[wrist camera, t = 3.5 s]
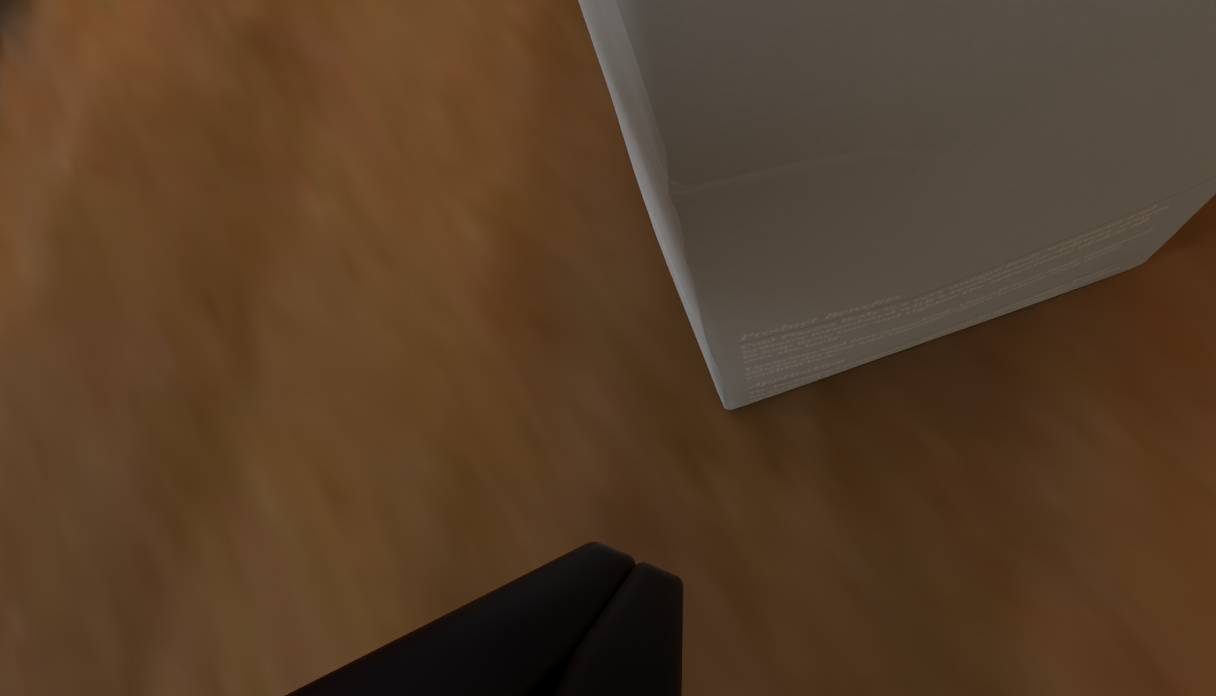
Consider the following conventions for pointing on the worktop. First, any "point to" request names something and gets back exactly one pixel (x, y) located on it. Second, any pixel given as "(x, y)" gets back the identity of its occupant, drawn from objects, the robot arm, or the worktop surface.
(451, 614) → the robot arm
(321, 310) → the worktop surface
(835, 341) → the cosmetic box
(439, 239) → the worktop surface
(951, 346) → the worktop surface
